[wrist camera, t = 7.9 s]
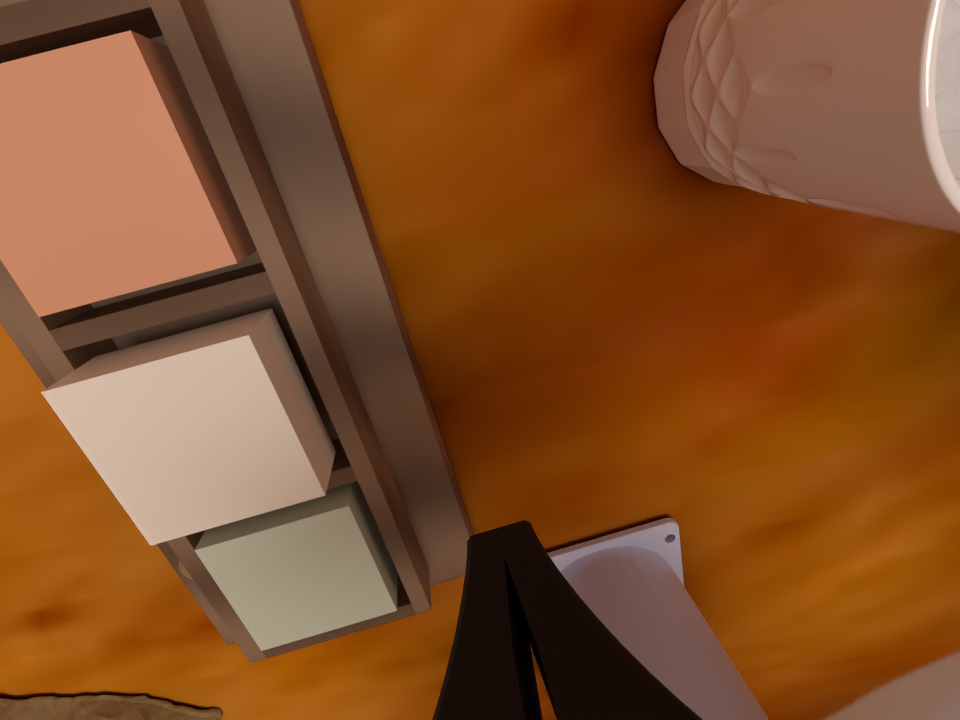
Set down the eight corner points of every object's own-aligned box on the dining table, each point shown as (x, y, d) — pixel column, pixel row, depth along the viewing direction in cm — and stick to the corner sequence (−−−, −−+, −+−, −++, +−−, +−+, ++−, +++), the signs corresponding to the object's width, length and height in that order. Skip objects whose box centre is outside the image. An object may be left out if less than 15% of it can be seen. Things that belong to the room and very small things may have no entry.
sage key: (398, 563, 19) (396, 610, 17) (276, 599, 19) (261, 651, 17) (355, 465, 17) (348, 505, 15) (219, 504, 17) (194, 550, 15)
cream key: (335, 451, 16) (325, 495, 14) (183, 494, 15) (150, 545, 14) (271, 308, 14) (248, 334, 12) (95, 356, 13) (40, 392, 11)
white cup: (592, 142, 16) (823, 130, 7) (720, -132, 14) (1298, -655, 5) (766, 232, 19) (1110, 309, 10) (903, 8, 16) (1540, -176, 7)
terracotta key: (261, 247, 14) (237, 263, 12) (91, 293, 14) (38, 317, 12) (176, 50, 12) (130, 30, 10) (-24, 102, 12) (-112, 92, 10)
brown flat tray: (474, 536, 23) (487, 611, 19) (242, 605, 22) (210, 693, 19) (283, -44, 13) (237, -117, 10) (-114, 57, 13) (-315, 20, 9)
